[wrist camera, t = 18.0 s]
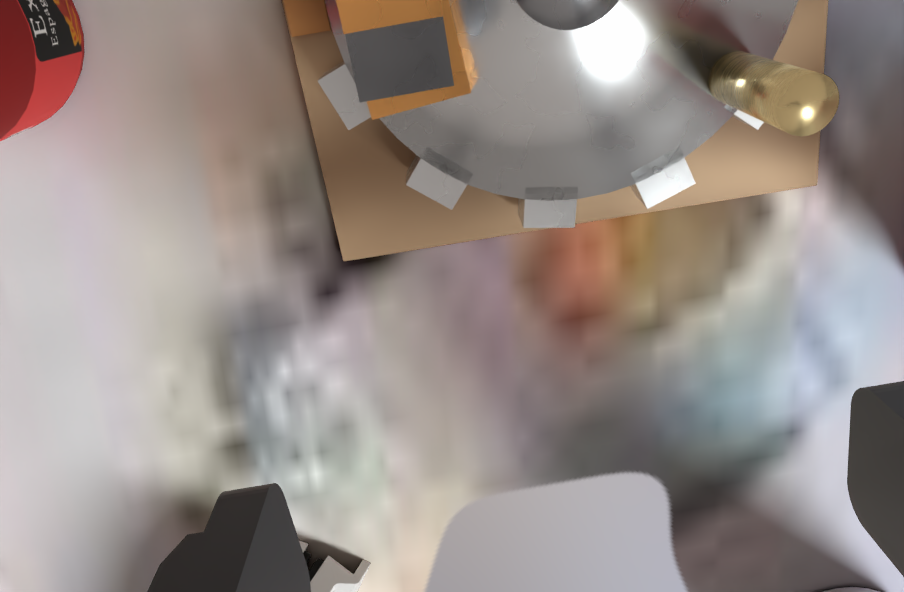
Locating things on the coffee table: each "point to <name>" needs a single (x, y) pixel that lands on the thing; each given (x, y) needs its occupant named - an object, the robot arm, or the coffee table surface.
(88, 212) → the coffee table surface
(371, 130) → the board
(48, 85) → the canned food
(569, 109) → the sprocket
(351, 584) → the grey curved shell
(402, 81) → the grey rectangular block
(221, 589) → the robot arm
